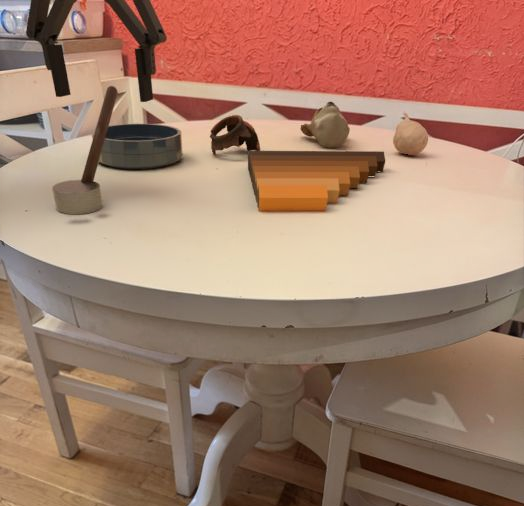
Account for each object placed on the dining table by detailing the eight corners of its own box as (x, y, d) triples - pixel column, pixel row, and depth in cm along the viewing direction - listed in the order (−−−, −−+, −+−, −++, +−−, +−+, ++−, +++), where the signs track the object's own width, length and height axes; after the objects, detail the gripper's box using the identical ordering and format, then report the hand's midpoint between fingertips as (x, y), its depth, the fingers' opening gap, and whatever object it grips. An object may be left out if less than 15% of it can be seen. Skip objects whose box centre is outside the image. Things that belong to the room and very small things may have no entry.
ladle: (88, 216, 69) (68, 102, 61) (47, 211, 71) (22, 99, 62) (143, 182, 83) (133, 86, 75) (108, 179, 85) (94, 84, 77)
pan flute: (378, 167, 95) (247, 167, 93) (381, 149, 93) (247, 148, 91) (424, 211, 75) (259, 212, 73) (429, 188, 73) (259, 188, 71)
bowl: (79, 166, 91) (74, 136, 88) (121, 147, 104) (118, 121, 101) (162, 174, 88) (159, 144, 85) (194, 153, 101) (193, 127, 98)
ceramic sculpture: (312, 104, 101) (300, 98, 114) (309, 149, 105) (297, 139, 118) (363, 105, 102) (345, 99, 115) (358, 150, 106) (341, 139, 119)
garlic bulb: (418, 151, 108) (426, 111, 103) (427, 158, 102) (436, 116, 98) (388, 151, 107) (395, 110, 103) (396, 158, 102) (403, 115, 98)
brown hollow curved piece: (267, 162, 98) (249, 125, 92) (224, 182, 101) (204, 147, 95) (260, 133, 106) (244, 97, 100) (221, 153, 108) (202, 119, 102)
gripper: (182, -89, 62) (192, 99, 74) (9, -86, 67) (45, 90, 79) (157, -100, 56) (173, 106, 68) (-31, -96, 61) (14, 97, 73)
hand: (104, 98), depth 74 cm, fingers open, 13 cm apart
